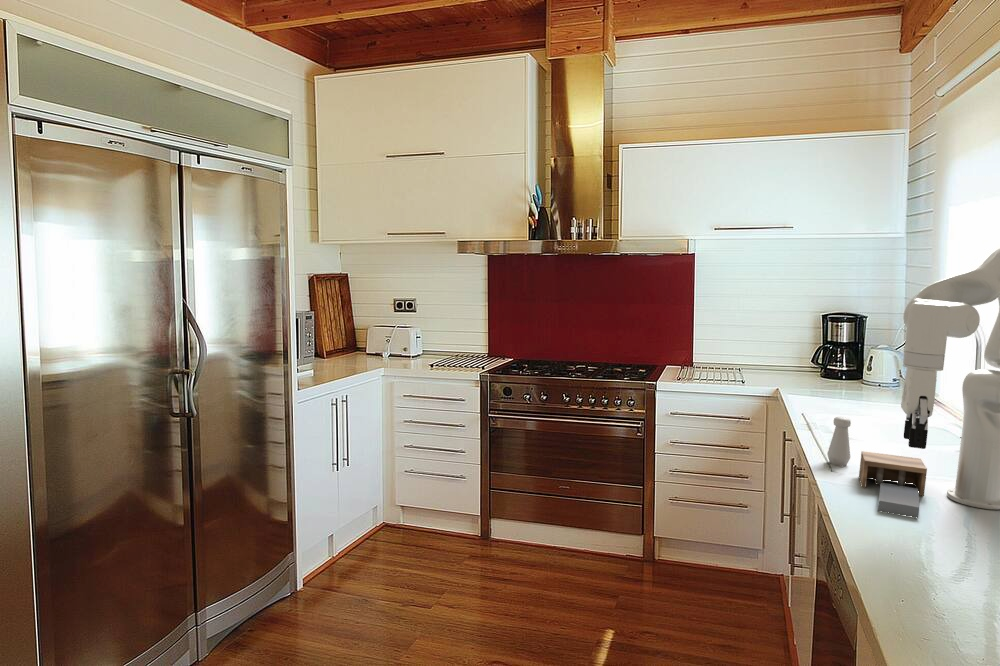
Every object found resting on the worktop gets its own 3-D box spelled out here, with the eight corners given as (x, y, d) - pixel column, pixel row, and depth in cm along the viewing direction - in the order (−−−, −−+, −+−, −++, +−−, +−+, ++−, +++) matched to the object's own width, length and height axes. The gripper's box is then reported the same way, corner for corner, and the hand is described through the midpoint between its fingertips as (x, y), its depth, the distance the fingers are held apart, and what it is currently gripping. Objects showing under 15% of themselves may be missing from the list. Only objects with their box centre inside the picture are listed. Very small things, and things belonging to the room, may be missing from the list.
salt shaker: (850, 468, 207) (855, 420, 206) (827, 465, 209) (832, 418, 208) (848, 462, 213) (852, 416, 211) (825, 459, 215) (830, 414, 213)
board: (879, 494, 187) (880, 482, 187) (916, 500, 183) (918, 488, 183) (877, 513, 173) (878, 500, 173) (917, 520, 169) (919, 507, 169)
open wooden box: (858, 476, 200) (861, 451, 199) (917, 484, 195) (920, 458, 194) (861, 487, 190) (864, 460, 190) (923, 496, 186) (927, 468, 185)
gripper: (898, 354, 171) (890, 432, 173) (909, 364, 155) (899, 450, 157) (936, 357, 169) (927, 436, 171) (951, 368, 153) (941, 455, 155)
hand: (914, 442), depth 164 cm, fingers open, 7 cm apart
